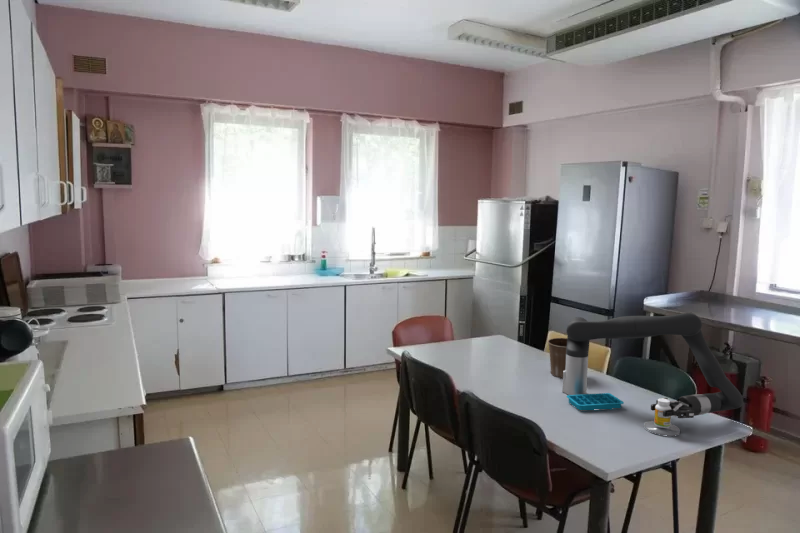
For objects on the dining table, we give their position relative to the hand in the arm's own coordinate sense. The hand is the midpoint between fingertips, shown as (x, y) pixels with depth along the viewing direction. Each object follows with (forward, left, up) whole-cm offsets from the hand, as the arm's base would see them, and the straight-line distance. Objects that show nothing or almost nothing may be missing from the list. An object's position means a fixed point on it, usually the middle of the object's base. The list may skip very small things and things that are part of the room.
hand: (657, 410), depth 200 cm
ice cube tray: (-27, +8, -8) cm, 29 cm away
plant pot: (-54, +36, -8) cm, 65 cm away
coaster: (+1, +2, -8) cm, 8 cm away
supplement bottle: (+1, +2, -6) cm, 7 cm away
